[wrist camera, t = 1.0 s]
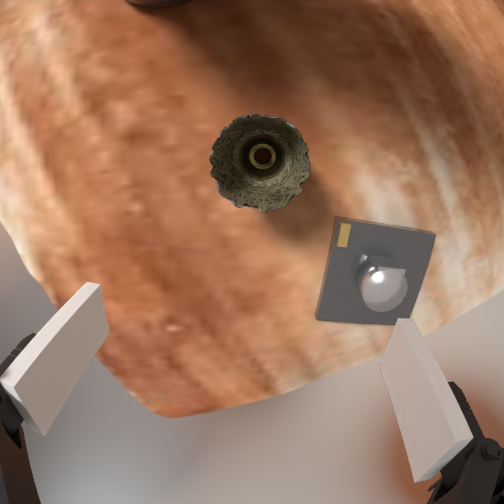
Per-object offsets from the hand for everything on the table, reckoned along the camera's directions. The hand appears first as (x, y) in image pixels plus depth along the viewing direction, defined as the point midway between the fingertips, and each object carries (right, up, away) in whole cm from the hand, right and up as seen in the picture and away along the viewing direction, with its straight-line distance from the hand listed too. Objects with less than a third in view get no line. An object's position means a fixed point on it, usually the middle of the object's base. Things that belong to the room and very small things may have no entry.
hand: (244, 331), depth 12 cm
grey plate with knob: (+14, +1, +20) cm, 25 cm away
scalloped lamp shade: (+1, +13, +17) cm, 21 cm away
